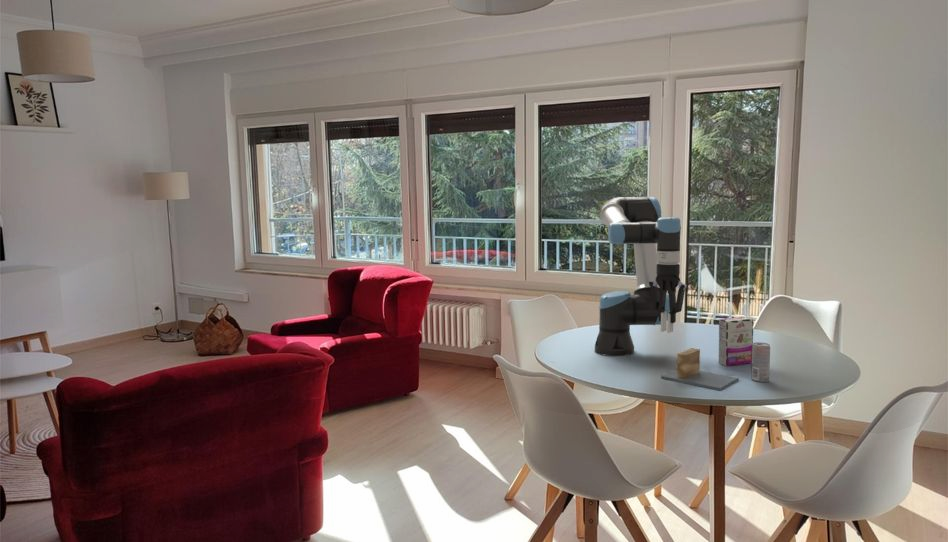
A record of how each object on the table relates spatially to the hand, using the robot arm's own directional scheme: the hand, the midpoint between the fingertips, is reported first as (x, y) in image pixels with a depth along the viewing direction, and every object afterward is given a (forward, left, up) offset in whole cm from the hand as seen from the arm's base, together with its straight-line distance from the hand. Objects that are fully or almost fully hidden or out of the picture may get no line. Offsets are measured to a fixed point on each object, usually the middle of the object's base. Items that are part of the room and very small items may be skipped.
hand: (666, 331), depth 214 cm
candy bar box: (+13, +26, -15) cm, 33 cm away
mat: (+12, 0, -14) cm, 19 cm away
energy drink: (+27, +12, -15) cm, 33 cm away
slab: (+8, 0, -14) cm, 16 cm away
